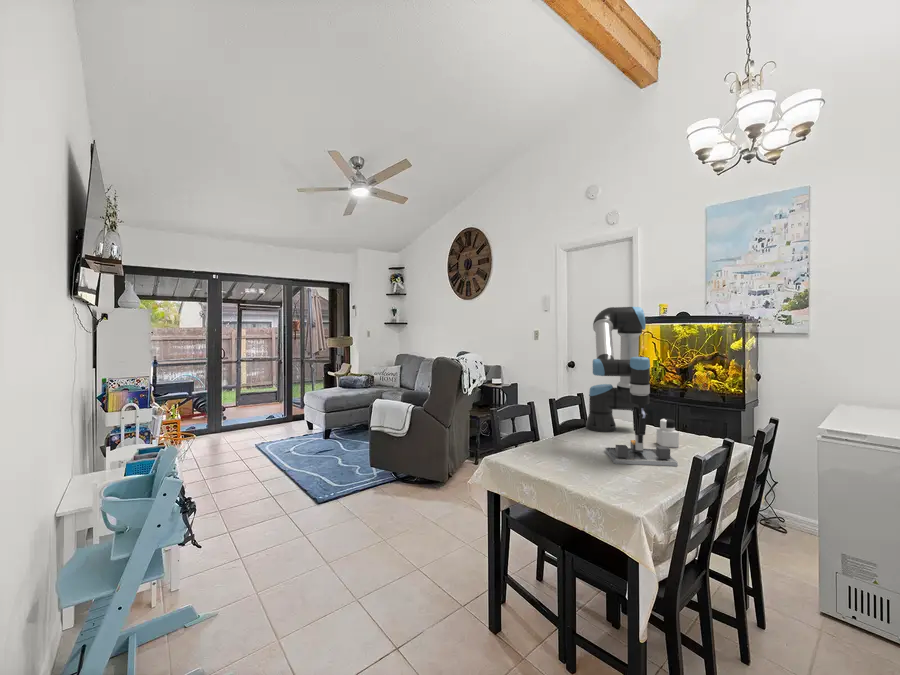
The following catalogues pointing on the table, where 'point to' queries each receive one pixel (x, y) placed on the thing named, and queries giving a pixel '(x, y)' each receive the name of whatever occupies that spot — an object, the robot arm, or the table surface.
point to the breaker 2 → (662, 452)
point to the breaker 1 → (622, 451)
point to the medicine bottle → (667, 434)
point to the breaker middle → (634, 447)
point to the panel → (640, 458)
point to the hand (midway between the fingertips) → (639, 449)
